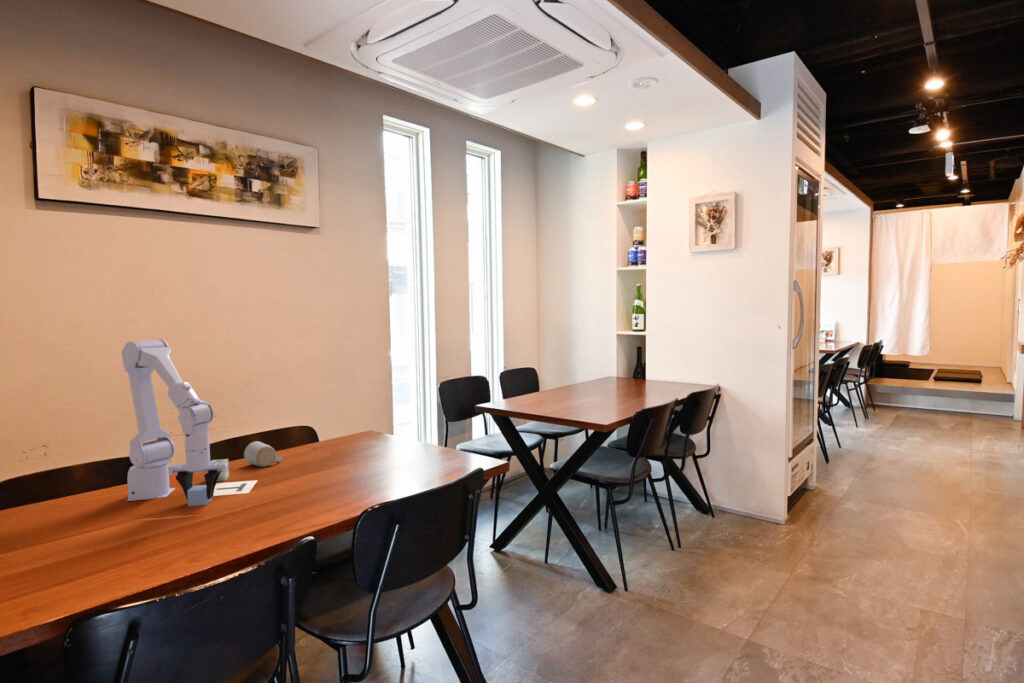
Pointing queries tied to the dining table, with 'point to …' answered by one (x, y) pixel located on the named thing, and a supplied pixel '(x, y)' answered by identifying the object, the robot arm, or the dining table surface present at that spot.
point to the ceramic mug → (260, 454)
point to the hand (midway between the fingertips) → (200, 498)
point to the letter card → (233, 487)
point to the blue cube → (198, 495)
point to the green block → (223, 475)
